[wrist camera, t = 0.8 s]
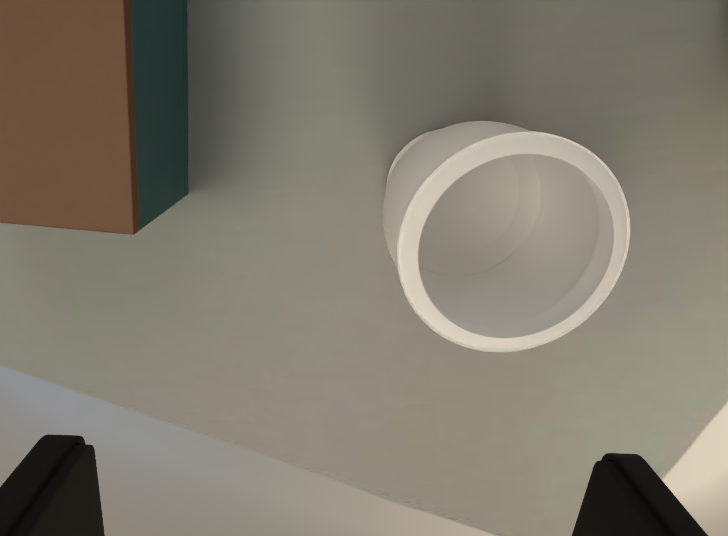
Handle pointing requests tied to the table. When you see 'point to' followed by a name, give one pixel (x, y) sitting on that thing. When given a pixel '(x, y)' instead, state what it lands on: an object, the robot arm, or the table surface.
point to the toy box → (160, 104)
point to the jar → (503, 233)
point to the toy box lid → (67, 115)
